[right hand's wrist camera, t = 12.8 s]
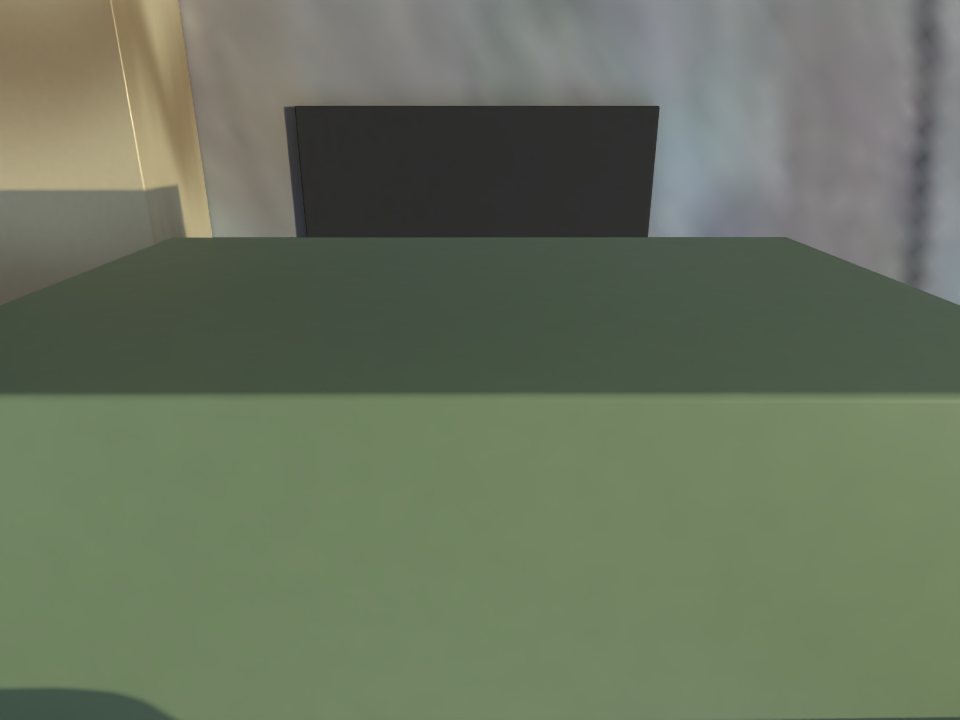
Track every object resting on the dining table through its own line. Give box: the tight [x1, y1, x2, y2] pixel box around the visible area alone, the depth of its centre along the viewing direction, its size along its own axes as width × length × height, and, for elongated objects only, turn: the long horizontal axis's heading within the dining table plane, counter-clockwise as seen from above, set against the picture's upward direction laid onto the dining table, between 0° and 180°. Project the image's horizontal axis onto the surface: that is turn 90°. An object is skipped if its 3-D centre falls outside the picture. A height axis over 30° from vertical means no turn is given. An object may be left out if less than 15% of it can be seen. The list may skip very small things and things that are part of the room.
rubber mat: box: [295, 106, 659, 237], centre depth 27 cm, size 14×14×1 cm
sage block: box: [0, 237, 960, 720], centre depth 10 cm, size 9×11×7 cm
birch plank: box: [0, 0, 212, 305], centre depth 22 cm, size 26×6×5 cm, turn 0°
